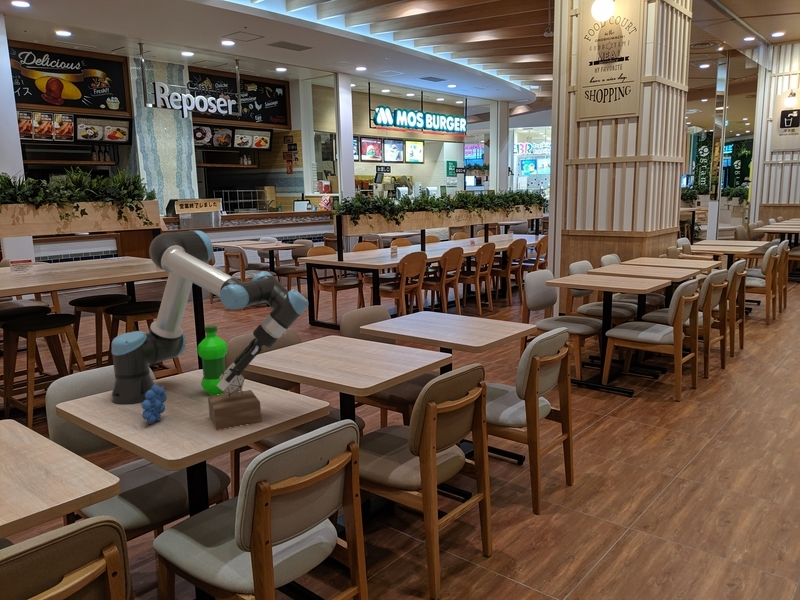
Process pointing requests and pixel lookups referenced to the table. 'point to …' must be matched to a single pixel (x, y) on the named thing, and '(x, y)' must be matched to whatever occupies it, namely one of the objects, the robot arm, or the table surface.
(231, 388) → the white wireframe polyhedron
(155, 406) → the grapes
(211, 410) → the walnut block
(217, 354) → the plastic bottle
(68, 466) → the table surface
